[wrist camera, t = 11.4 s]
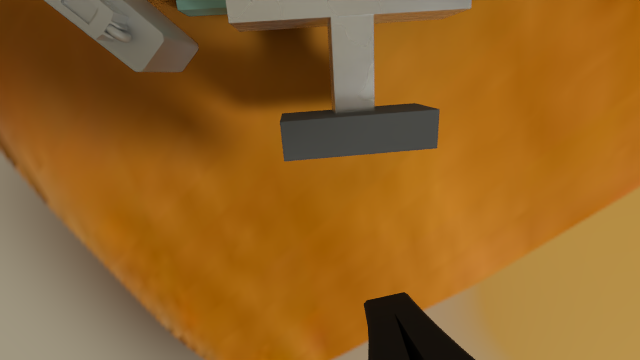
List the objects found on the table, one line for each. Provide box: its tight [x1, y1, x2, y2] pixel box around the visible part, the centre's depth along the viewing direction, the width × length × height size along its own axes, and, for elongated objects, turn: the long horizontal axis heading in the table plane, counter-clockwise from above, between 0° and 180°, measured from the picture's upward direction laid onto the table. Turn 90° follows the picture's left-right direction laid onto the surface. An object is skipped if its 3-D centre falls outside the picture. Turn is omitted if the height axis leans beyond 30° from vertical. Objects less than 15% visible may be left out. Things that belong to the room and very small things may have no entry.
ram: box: [226, 0, 471, 161], centre depth 12 cm, size 9×7×4 cm
